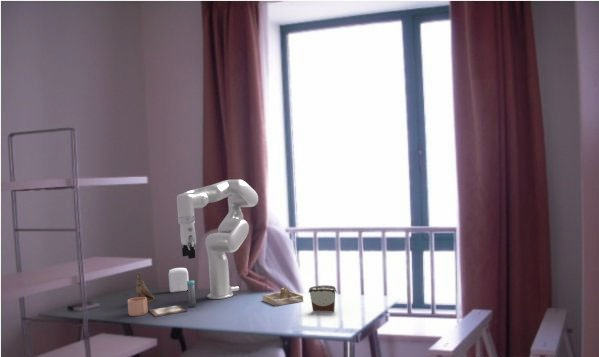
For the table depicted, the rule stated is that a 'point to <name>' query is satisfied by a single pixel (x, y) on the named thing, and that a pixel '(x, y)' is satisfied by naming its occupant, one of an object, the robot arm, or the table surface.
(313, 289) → the food container
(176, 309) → the picture frame
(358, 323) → the table surface
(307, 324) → the table surface
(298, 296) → the artifact tray
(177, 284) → the photo printer
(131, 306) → the pen cup
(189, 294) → the marker
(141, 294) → the brown carved statuette
